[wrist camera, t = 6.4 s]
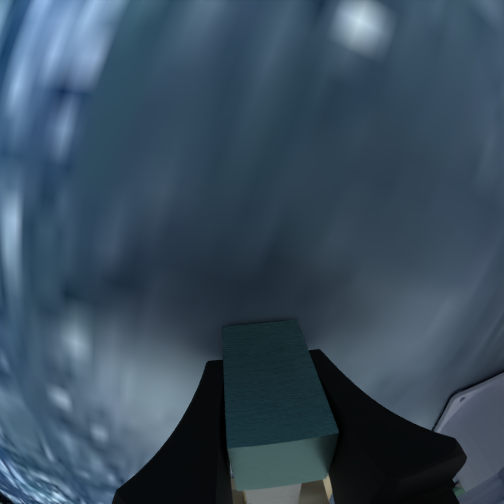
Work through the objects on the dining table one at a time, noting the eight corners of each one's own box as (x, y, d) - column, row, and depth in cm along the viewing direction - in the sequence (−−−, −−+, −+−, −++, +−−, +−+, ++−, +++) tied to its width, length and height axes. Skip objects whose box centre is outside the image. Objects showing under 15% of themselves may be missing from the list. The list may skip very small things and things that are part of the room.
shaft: (296, 319, 13) (339, 432, 7) (283, 516, 21) (293, 565, 16) (222, 326, 12) (227, 448, 7) (252, 520, 21) (258, 569, 16)
